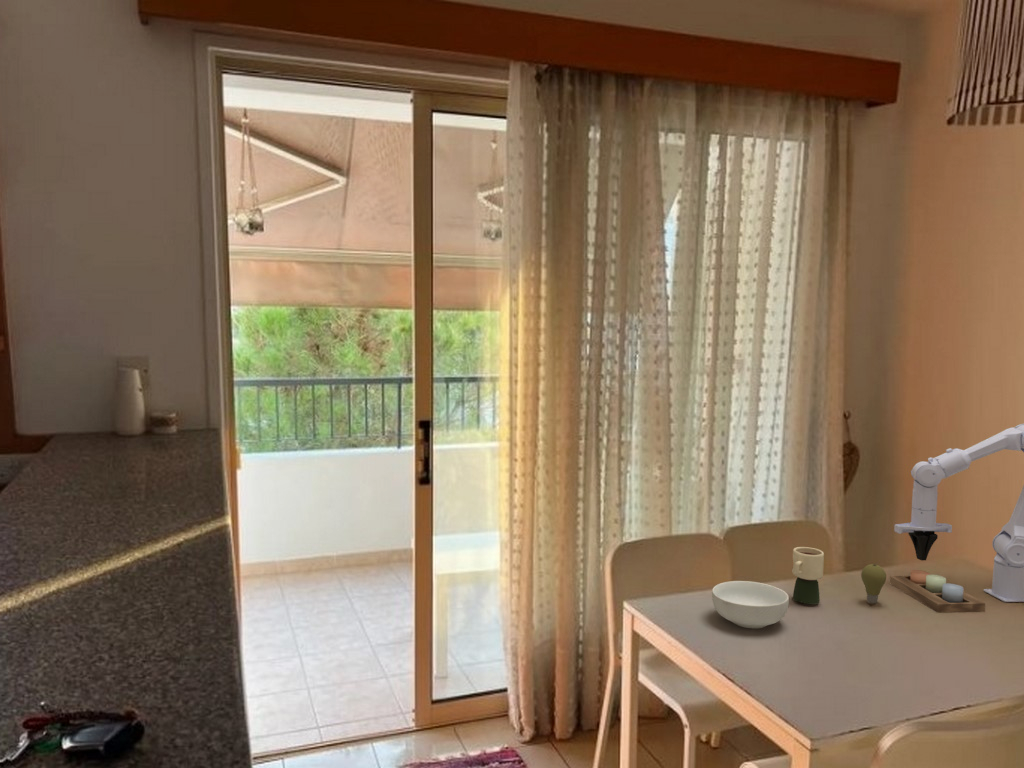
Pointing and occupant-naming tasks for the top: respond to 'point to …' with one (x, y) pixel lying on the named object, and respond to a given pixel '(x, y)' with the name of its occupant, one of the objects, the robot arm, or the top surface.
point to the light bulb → (873, 581)
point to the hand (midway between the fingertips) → (921, 559)
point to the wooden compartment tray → (936, 597)
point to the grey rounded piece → (952, 593)
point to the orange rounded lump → (918, 576)
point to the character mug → (807, 574)
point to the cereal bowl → (750, 603)
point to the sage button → (935, 583)
